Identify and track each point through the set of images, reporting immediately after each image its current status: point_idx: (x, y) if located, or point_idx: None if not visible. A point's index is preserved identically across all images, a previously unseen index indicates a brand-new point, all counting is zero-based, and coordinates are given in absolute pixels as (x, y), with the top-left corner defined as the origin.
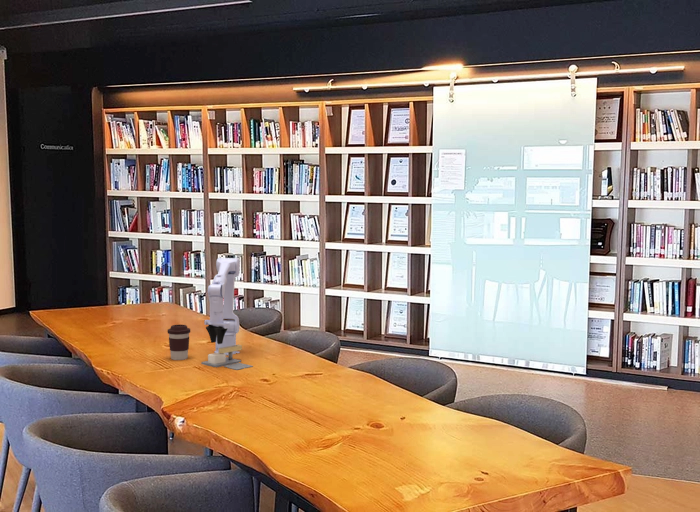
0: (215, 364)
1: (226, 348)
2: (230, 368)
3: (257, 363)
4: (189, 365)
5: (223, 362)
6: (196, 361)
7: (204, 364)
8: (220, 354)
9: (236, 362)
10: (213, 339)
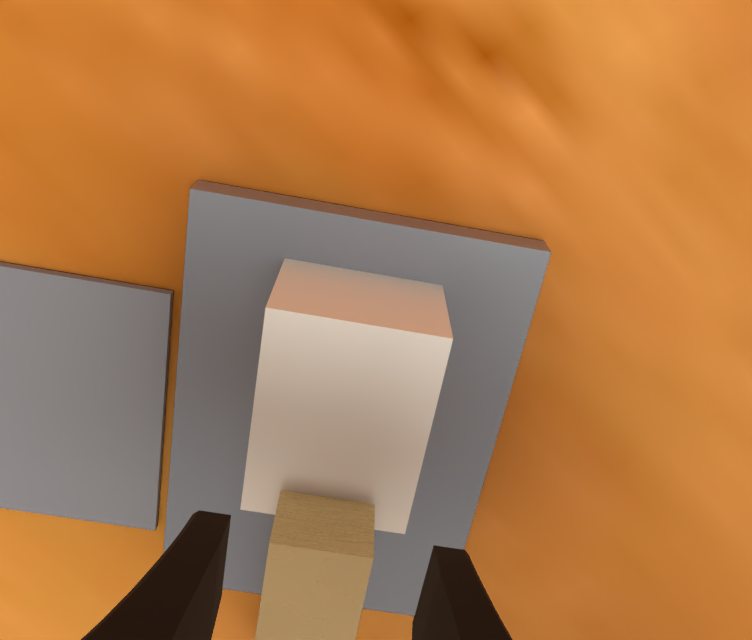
0: (255, 246)
1: (259, 609)
2: (5, 263)
3: (2, 614)
4: (669, 88)
5: None
6: (724, 341)
7: (471, 230)
8: (274, 443)
9: (169, 508)
10: (430, 630)
